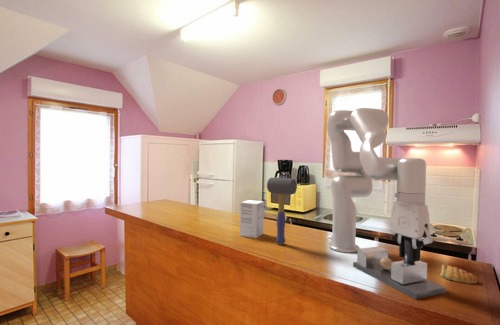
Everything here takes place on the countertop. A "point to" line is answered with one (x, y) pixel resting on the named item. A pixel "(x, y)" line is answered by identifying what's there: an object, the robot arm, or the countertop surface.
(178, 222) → the countertop surface
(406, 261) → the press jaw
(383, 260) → the tan wooden ball
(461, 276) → the pastry
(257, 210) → the supplement box
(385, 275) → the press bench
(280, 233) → the rubber mallet
